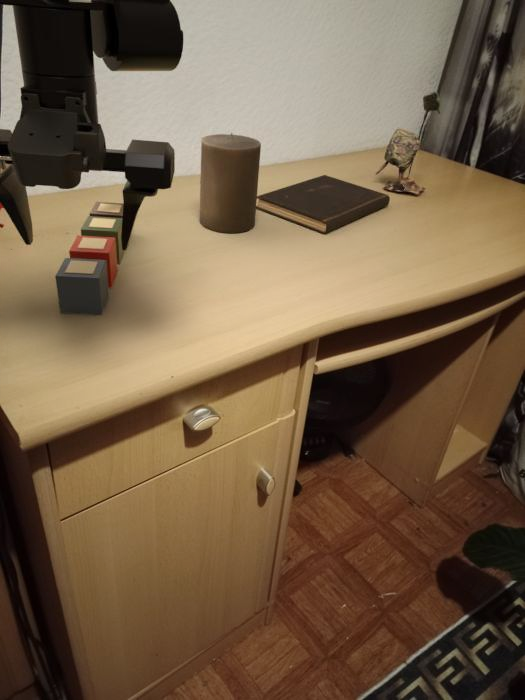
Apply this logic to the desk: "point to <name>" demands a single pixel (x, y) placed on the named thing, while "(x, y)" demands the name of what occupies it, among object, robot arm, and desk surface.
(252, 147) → the pillar candle
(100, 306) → the slate block
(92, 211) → the walnut block
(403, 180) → the mottled figurine
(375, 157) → the desk surface
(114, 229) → the olive block
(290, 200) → the hardcover book
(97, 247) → the red block
